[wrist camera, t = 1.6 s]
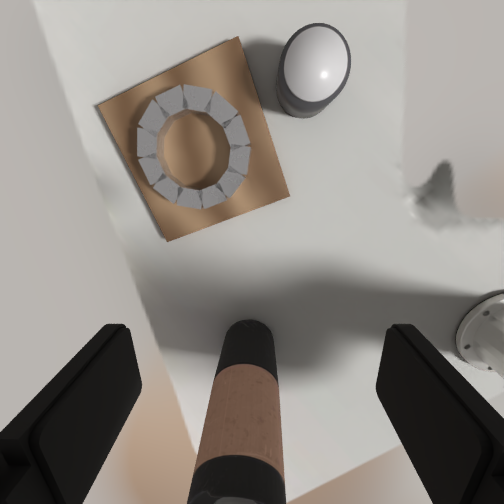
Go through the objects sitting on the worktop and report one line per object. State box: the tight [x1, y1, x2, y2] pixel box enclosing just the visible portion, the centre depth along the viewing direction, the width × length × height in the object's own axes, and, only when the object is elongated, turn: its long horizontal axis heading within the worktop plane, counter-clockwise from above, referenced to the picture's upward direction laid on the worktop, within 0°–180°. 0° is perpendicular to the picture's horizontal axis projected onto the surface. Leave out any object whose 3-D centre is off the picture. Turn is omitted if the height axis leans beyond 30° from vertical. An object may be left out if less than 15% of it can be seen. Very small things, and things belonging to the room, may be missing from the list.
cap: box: [276, 23, 351, 118], centre depth 23 cm, size 6×6×5 cm
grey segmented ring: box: [137, 84, 252, 209], centre depth 26 cm, size 12×12×2 cm
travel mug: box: [187, 320, 286, 504], centre depth 27 cm, size 8×8×20 cm
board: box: [98, 36, 290, 242], centre depth 27 cm, size 16×16×1 cm
